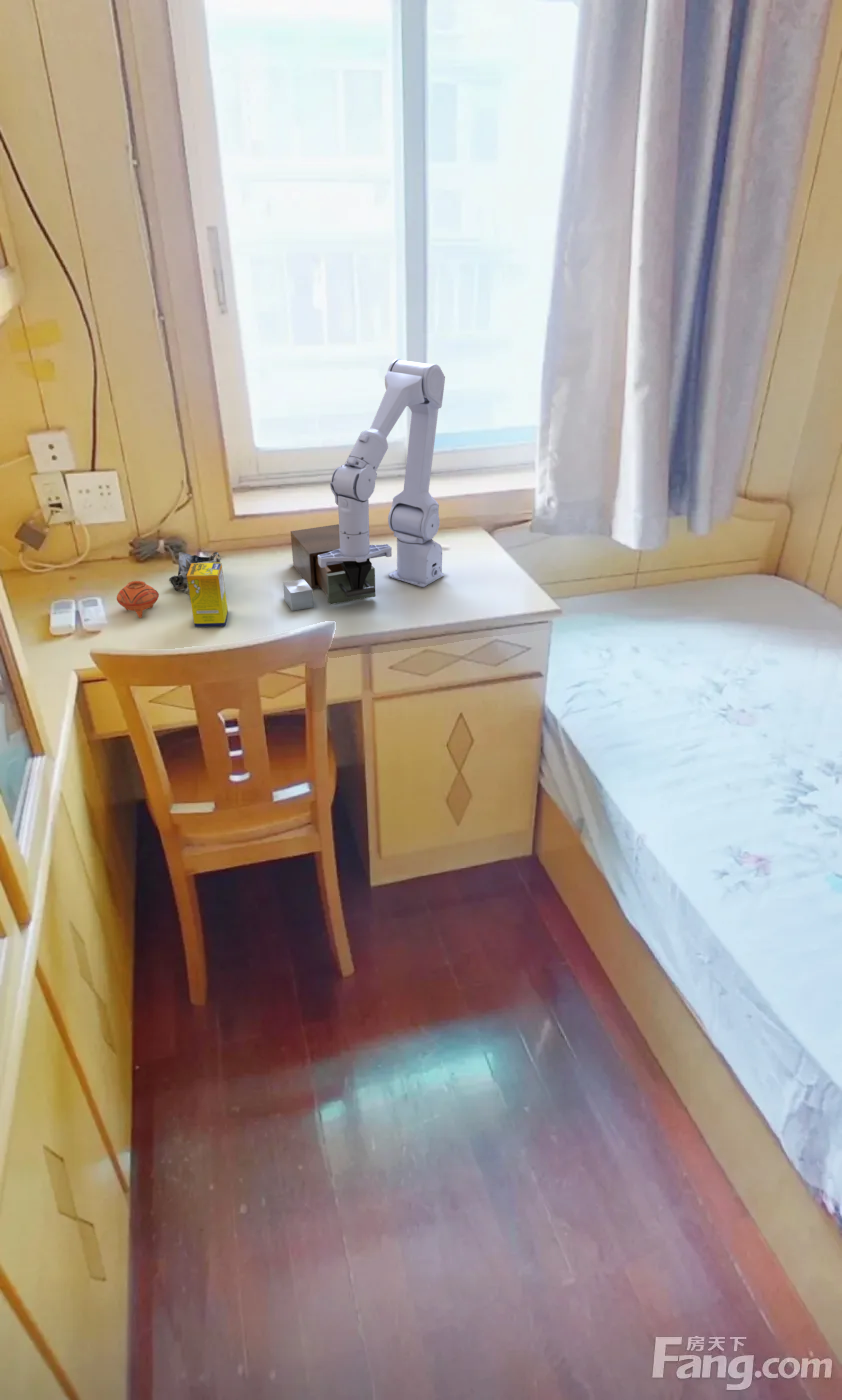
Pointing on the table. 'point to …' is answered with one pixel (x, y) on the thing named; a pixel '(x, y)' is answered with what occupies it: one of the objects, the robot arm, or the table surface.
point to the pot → (137, 597)
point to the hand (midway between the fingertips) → (356, 594)
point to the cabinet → (312, 549)
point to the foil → (184, 565)
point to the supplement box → (207, 594)
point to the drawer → (341, 583)
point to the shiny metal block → (298, 594)
